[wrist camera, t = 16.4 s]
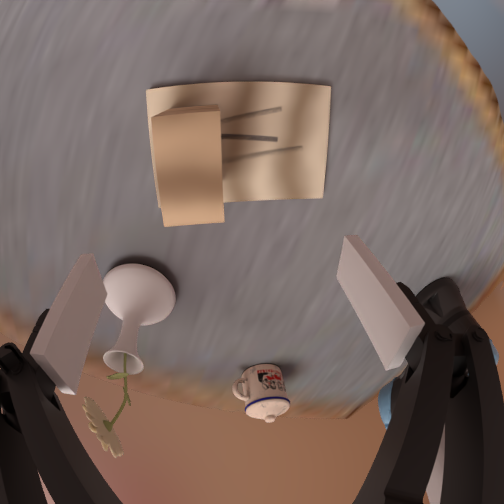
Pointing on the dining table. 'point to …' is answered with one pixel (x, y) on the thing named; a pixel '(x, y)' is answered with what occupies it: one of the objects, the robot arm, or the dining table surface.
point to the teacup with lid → (263, 392)
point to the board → (260, 135)
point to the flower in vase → (129, 333)
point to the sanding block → (189, 164)
